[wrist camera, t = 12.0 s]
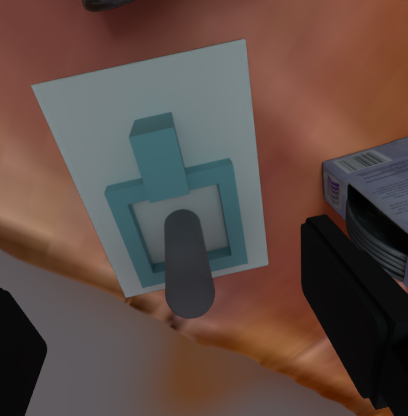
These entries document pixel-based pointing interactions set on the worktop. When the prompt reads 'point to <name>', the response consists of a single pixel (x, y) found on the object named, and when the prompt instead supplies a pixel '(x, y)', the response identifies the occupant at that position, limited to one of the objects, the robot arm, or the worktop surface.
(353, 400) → the worktop surface
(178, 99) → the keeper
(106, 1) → the tin
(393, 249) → the cake pan box
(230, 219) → the link
